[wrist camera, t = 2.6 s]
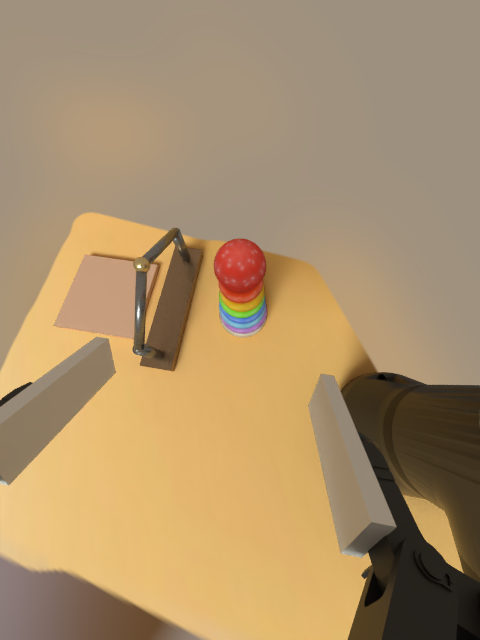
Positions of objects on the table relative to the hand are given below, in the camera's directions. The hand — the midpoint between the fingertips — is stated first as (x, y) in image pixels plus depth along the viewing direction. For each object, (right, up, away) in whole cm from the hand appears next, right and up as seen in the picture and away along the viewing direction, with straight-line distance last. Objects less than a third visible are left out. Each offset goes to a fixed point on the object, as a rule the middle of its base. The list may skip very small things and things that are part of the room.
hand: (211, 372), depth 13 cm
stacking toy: (+2, +4, +23) cm, 24 cm away
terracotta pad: (-21, +8, +24) cm, 33 cm away
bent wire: (-9, +6, +23) cm, 26 cm away
